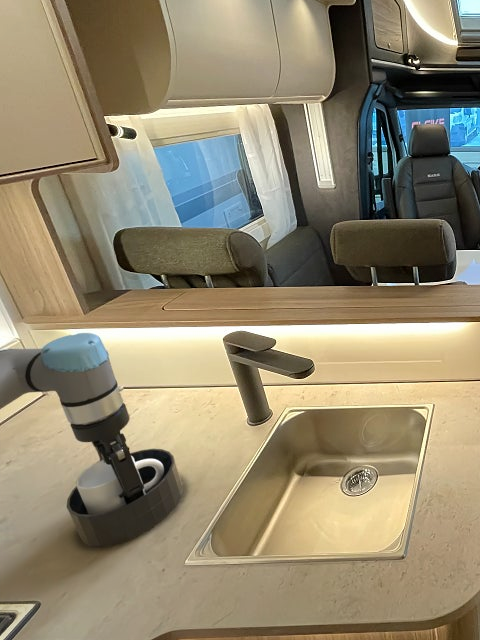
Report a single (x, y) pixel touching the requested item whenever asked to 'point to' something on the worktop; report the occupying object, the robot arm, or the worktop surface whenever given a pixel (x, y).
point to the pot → (130, 505)
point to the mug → (109, 485)
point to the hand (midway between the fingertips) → (132, 501)
